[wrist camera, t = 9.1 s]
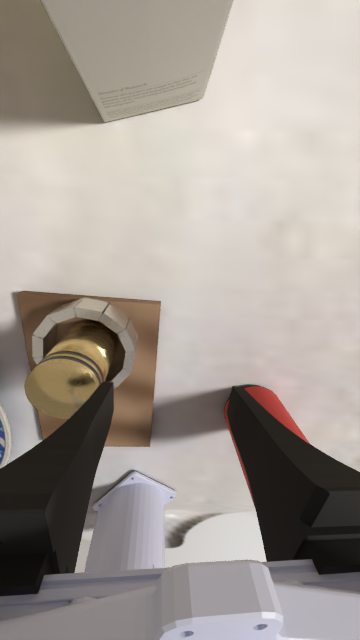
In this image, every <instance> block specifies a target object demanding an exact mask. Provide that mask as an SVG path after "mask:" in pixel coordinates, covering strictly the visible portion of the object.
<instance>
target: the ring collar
mask: <svg viewBox="0 0 360 640" xmlns="http://www.w3.org/2000/svg"><path fill="white" fill-rule="evenodd" d="M74 317H79V318H85V319H91V320H96V321H100V322H101V323H103V324H104V325H106V326H107V327H108V328H110V329H111V330H112V331H114V332H115V333H117V334H118V336H119V338H120V341H121V343H122V345H123V347H124V349H125V351H126V353H125V357H124V358H123V359H122V360H121V361H120V362H119V363H118V364H117V365H116V366H113V367H110V368H109V371H108V374H107V377H106V379H105V382H114V388H116V387H118V386H119V385H120V384H121V383H122V382H123V381H124V380H125V379H126V378H127V377H128V376H129V375H130V374H131V372H132V369H133V364H134V360H135V354H136V349H137V343H138V335H137V333H136V330H135V328H134V326H133V324H132V321H131V319H130V318H129V316H127V315H126V314H125V313H124V312H122V311H121V310H120V309H118V308H117V307H116V306H114V305H113V304H112V303H110V304H109V302H106V301H101V300H96V299H90V298H81V299H78V300H75V301H72V302H68V303H65V304H62V305H61V306H59V307H58V308H57V309H55V310H54V311H53V312H51V313H50V314H49V315H47V316H46V317H45V319H44V320H43V321H42V323H41V324H40V325H39V327H38V328H37V329H36V330H35V332H34V333H33V335H32V357H34V359H33V360H34V361H35V363H36V364H38V363H39V362H40V361H41V360H42V359H43V358H44V357H45V356H46V355H47V354H48V353H49V352H50V351H51V350H52V349H53V347H54V346H55V345H56V344H57V343H56V337H57V325H58V324H59V323H60V322H62V321H65V320H68V319H71V318H74ZM128 318H129V319H128Z"/></svg>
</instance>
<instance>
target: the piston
mask: <svg viewBox="0 0 360 640" xmlns="http://www.w3.org/2000/svg"><path fill="white" fill-rule="evenodd" d="M117 346H118V339H117V335H116V333H115V332H114V331H112V330H111V329H110V328H108V327H107V326H106V325H104V324H103V323H101V322H100V321H96V320H91V319H85V320H82V321H79V322H77V323H76V324H75V325H74V326H73V327H72V328H71V329H70V330H69V331H68V332H67V333H66V334H65V335H64V336H63V338H62V339H61V340H60V341H59V342H58V343H57V344H56V345H55V346H54V347H53V349H52V350H51V351H50V352H49V353H48V354H47V355H46V356H45V357H44V358H43V359H42V360H41V361H40V362H39V363H38V364H37V365H36V367H35V368H34V369H33V370H32V371H31V373H30V374H29V375H28V377H27V379H26V381H25V393H26V396H27V398H28V400H29V401H30V403H31V404H32V405H33V406H34V407H35V408H36V409H38V410H39V411H41V412H42V413H44V414H46V415H49V416H52V417H55V418H61V419H69V418H70V417H71V416H72V415H73V414H74V413H75V412H76V411H77V410H78V409H79V408H80V407H81V406H82V405H83V404H84V403H85V402H86V401H87V399H88V398H89V397H90V396H91V395H92V394H93V393H94V391H95V390H96V389H97V388H98V386H99V385H100V384H101V383H102V382H105V379H106V377H107V374H108V371H109V368H110V366H111V363H112V360H113V358H114V355H115V352H116V350H117Z"/></svg>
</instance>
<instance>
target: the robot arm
mask: <svg viewBox="0 0 360 640" xmlns="http://www.w3.org/2000/svg"><path fill="white" fill-rule="evenodd" d="M113 411H114V382H102V383H101V384H100V385H99V386H98V388H97V389H96V390H95V391H94V393H93V394H92V395H91V396H90V397H89V398H88V399H87V401H86V402H85V403H84V404H83V405H82V406H81V407H80V408H79V409H78V410H77V411H76V412H75V413H74V414H73V415H72V416H71V417H70V418H69V419H68V420H67V421H66V422H65V423H64V424H62V425H61V426H60V427H59V428H58V429H57V430H55V431H54V432H53V433H52V434H51V435H49V436H48V437H47V438H45V439H44V440H43V441H42V442H40V443H39V444H38V445H36V446H35V447H33V448H32V449H31V450H29V451H28V452H26V453H25V454H23V455H22V456H20V457H18V458H17V459H15V460H14V461H12V462H11V463H9V464H7V465H6V466H4V467H2V468H0V640H360V472H358V471H356V470H354V469H352V468H350V467H348V466H346V465H344V464H343V463H341V462H339V461H337V460H335V459H334V458H332V457H330V456H328V455H327V454H325V453H323V452H322V451H320V450H318V449H317V448H315V447H314V446H312V445H311V444H309V443H307V442H306V441H304V440H303V439H302V438H300V437H299V436H297V435H296V434H295V433H293V432H292V431H291V430H289V429H288V428H287V427H286V426H284V425H283V424H282V423H281V422H279V421H278V420H277V419H276V418H275V417H274V416H272V415H271V414H270V413H269V412H268V411H267V410H266V409H265V408H264V407H263V406H262V405H261V404H260V403H258V402H257V401H256V400H255V399H254V398H253V397H252V396H251V395H250V394H249V393H248V392H247V391H246V390H245V389H244V388H243V387H236V386H233V387H232V391H231V395H230V400H229V404H228V408H227V416H228V421H229V425H230V429H231V432H232V434H233V437H234V440H235V443H236V445H237V448H238V451H239V454H240V456H241V459H242V462H243V464H244V467H245V470H246V473H247V477H248V481H249V485H250V488H251V492H252V496H253V500H254V504H255V508H256V512H257V517H258V522H259V526H260V531H261V535H262V540H263V545H264V550H265V554H266V560H267V562H259V561H254V560H235V561H219V562H200V563H186V564H181V565H176V566H173V567H170V568H165V538H164V506H165V505H166V504H167V503H169V502H170V501H171V500H173V499H174V498H175V497H176V496H177V492H176V491H175V490H173V489H171V488H169V487H167V486H165V485H163V484H161V483H158V482H156V481H154V480H152V479H150V478H148V477H146V476H144V475H142V474H140V473H138V472H136V471H134V472H132V473H130V474H129V475H128V476H127V477H126V478H125V479H123V480H122V481H121V482H120V483H119V484H118V485H116V486H115V487H114V488H113V489H112V490H110V491H109V492H108V493H107V494H106V495H105V496H103V497H102V498H101V499H100V500H99V501H98V502H96V503H95V504H94V505H93V510H94V511H97V512H98V513H97V517H96V521H95V526H94V530H93V535H92V539H91V544H90V548H89V553H88V557H87V561H86V567H85V572H84V573H74V572H75V567H76V562H77V557H78V551H79V546H80V541H81V537H82V532H83V527H84V522H85V518H86V513H87V509H88V504H89V499H90V495H91V491H92V486H93V482H94V477H95V474H96V470H97V467H98V463H99V460H100V457H101V454H102V451H103V448H104V445H105V442H106V439H107V436H108V432H109V429H110V426H111V421H112V416H113Z"/></svg>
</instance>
